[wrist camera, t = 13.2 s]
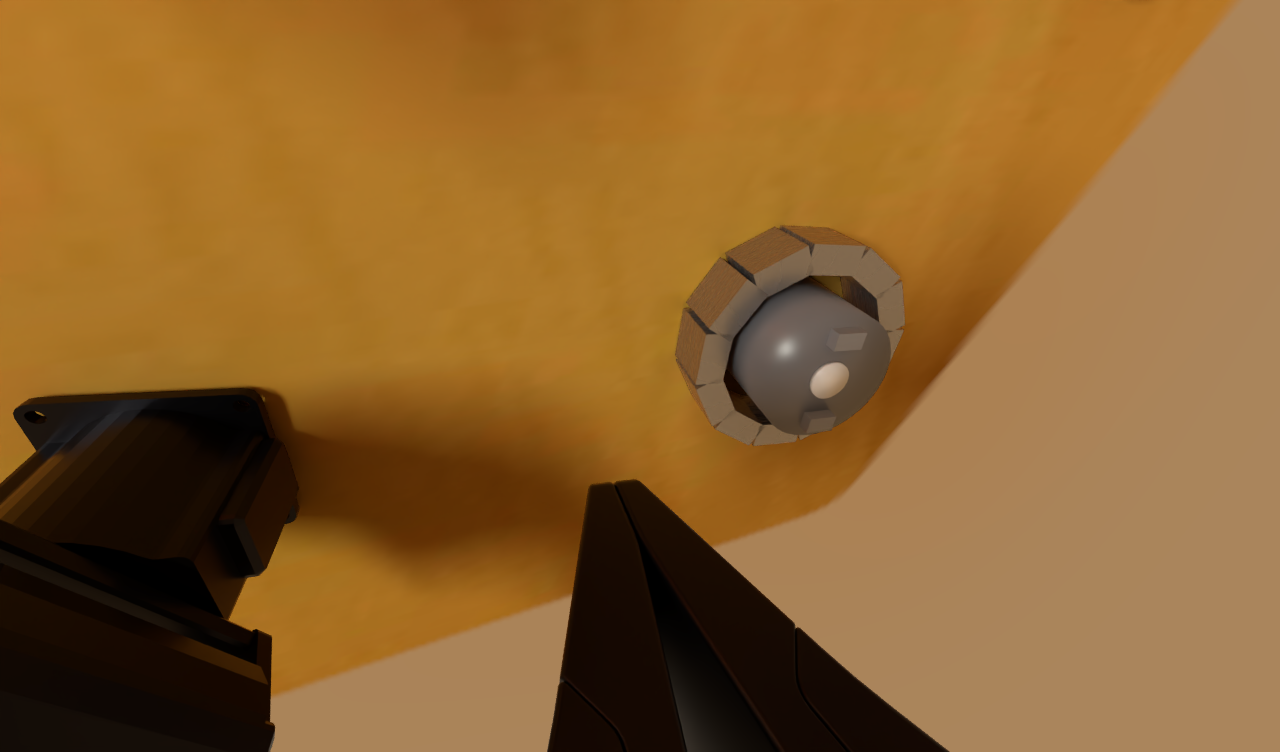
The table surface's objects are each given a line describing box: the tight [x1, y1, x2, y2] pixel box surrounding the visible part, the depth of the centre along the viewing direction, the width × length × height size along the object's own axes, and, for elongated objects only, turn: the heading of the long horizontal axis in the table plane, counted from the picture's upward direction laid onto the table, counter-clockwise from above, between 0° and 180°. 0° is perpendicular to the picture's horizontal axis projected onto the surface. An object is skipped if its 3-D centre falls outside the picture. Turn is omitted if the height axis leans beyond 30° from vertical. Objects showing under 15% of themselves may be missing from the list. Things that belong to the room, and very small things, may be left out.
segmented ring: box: [675, 225, 905, 446], centre depth 22 cm, size 10×10×2 cm
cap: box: [726, 276, 891, 435], centre depth 21 cm, size 6×6×5 cm
